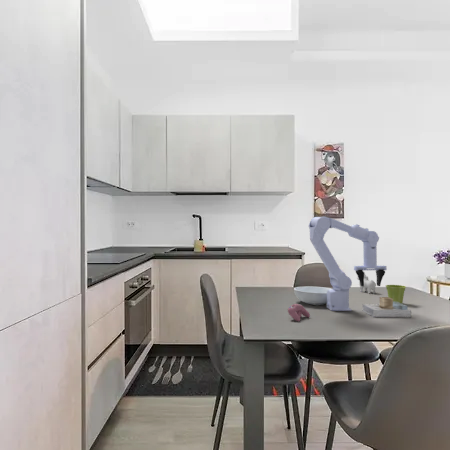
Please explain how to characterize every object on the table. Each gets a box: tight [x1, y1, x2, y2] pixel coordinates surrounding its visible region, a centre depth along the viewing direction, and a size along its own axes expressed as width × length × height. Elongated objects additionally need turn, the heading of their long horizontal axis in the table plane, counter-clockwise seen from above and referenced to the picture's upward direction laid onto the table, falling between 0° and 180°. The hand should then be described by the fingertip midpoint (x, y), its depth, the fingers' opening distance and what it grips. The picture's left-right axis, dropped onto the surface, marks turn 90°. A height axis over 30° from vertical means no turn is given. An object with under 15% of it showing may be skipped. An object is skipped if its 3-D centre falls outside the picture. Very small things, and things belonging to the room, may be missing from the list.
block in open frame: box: [361, 301, 412, 318], centre depth 168 cm, size 16×12×4 cm
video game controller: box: [287, 303, 311, 322], centre depth 158 cm, size 10×5×7 cm, turn 141°
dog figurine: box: [356, 272, 377, 294], centre depth 225 cm, size 5×13×11 cm, turn 23°
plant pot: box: [385, 284, 407, 304], centre depth 191 cm, size 9×9×9 cm
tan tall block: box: [379, 296, 393, 308], centre depth 168 cm, size 4×4×7 cm
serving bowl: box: [293, 285, 333, 306], centre depth 191 cm, size 21×21×7 cm
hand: (370, 285), depth 179 cm, fingers open, 7 cm apart
